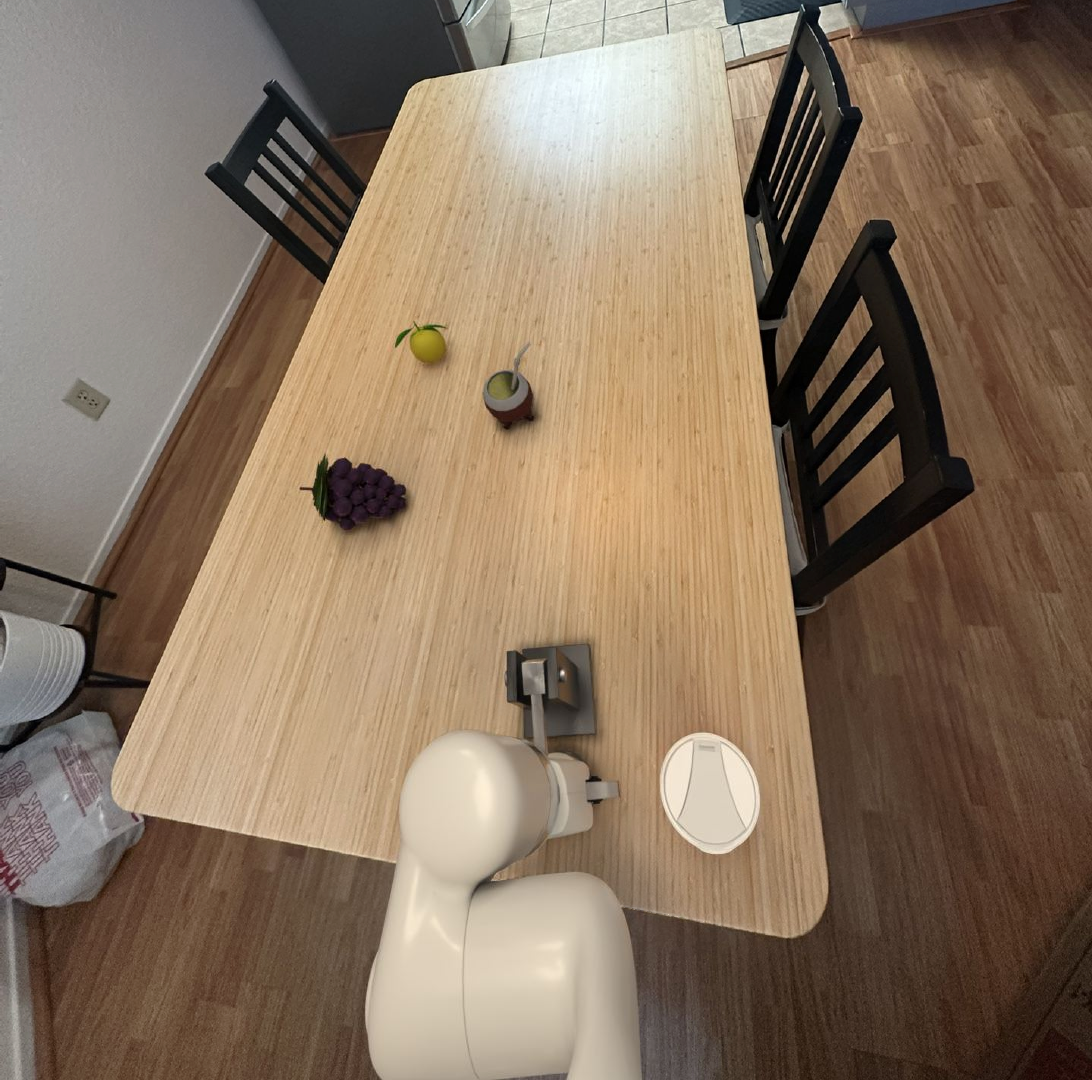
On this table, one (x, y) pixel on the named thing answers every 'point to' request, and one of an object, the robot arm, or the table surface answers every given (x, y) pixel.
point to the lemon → (425, 342)
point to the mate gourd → (509, 395)
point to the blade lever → (536, 698)
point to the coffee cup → (709, 792)
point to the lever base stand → (557, 689)
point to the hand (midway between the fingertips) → (551, 790)
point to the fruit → (354, 493)
